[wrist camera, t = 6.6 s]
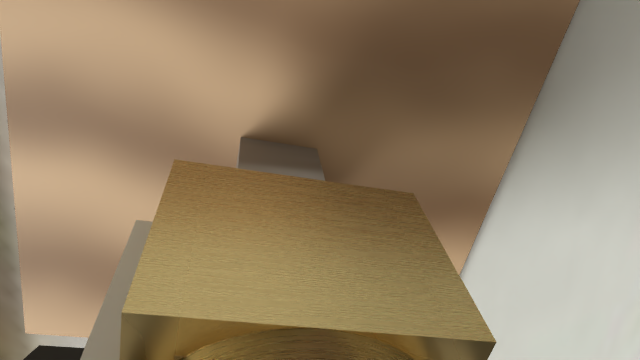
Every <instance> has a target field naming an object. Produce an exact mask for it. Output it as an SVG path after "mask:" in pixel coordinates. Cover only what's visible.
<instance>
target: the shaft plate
mask: <svg viewBox="0 0 640 360" xmlns="http://www.w3.org/2000/svg"><path fill="white" fill-rule="evenodd" d="M579 1H580V0H0V34H1V46H2V58H3V70H4V82H5V94H6V106H7V118H8V130H9V142H10V154H11V166H12V178H13V190H14V202H15V214H16V226H17V238H18V250H19V262H20V274H21V286H22V298H23V310H24V322H25V333H28V334H43V335H58V336H73V337H88V338H89V336H90V334H91V331H92V329H93V326H94V324H95V321H96V319H97V316H98V314H99V311H100V309H101V306H102V304H103V301H104V299H105V296H106V294H107V291H108V289H109V286H110V284H111V281H112V279H113V276H114V274H115V271H116V269H117V266H118V264H119V261H120V259H121V257H122V254H123V252H124V249H125V247H126V244H127V242H128V239H129V237H130V234H131V232H132V229H133V227H134V224H135V222H136V220H142V221H150V222H153V220H154V217H155V214H156V211H157V208H158V205H159V203H160V200H161V197H162V194H163V191H164V188H165V185H166V182H167V179H168V177H169V174H170V171H171V168H172V165H173V162H174V159H176V160H183V161H190V162H197V163H204V164H211V165H218V166H225V167H232V168H239V169H246V170H253V171H260V172H267V173H274V174H281V175H288V176H295V177H302V178H309V179H316V180H323V181H330V182H337V183H345V184H352V185H359V186H366V187H373V188H380V189H387V190H394V191H401V192H408V193H414V195H415V197H416V199H417V201H418V202H419V204H420V206H421V208H422V209H423V211H424V213H425V215H426V217H427V218H428V220H429V222H430V224H431V226H432V227H433V229H434V231H435V233H436V235H437V236H438V238H439V240H440V242H441V244H442V245H443V247H444V249H445V251H446V253H447V254H448V256H449V258H450V260H451V262H452V263H453V265H454V267H455V269H456V271H457V272H458V274H459V275H460V272H461V270H462V268H463V266H464V263H465V261H466V259H467V256H468V254H469V252H470V250H471V247H472V245H473V243H474V240H475V238H476V236H477V234H478V231H479V229H480V227H481V224H482V222H483V220H484V218H485V215H486V213H487V211H488V209H489V206H490V204H491V202H492V199H493V197H494V195H495V193H496V190H497V188H498V186H499V183H500V181H501V179H502V177H503V174H504V172H505V170H506V168H507V165H508V163H509V161H510V158H511V156H512V154H513V152H514V149H515V147H516V145H517V142H518V140H519V138H520V136H521V133H522V131H523V129H524V126H525V124H526V122H527V120H528V117H529V115H530V113H531V111H532V108H533V106H534V104H535V101H536V99H537V97H538V95H539V92H540V90H541V88H542V85H543V83H544V81H545V79H546V76H547V74H548V72H549V70H550V67H551V65H552V63H553V60H554V58H555V56H556V54H557V51H558V49H559V47H560V44H561V42H562V40H563V38H564V35H565V33H566V31H567V28H568V26H569V24H570V22H571V19H572V17H573V15H574V13H575V10H576V8H577V6H578V3H579Z"/></svg>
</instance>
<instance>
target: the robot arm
mask: <svg viewBox="0 0 640 360" xmlns="http://www.w3.org/2000/svg"><path fill="white" fill-rule="evenodd" d="M152 223H153V222H150V221H142V220H136V222H135V224H134V227H133V229H132V232H131V234H130V237H129V239H128V242H127V244H126V247H125V249H124V252H123V254H122V257H121V259H120V261H119V264H118V266H117V269H116V271H115V274H114V276H113V279H112V281H111V284H110V286H109V289H108V291H107V294H106V296H105V299H104V301H103V304H102V306H101V309H100V311H99V314H98V316H97V319H96V321H95V324H94V326H93V329H92V331H91V334H90V336H89V338H88V341H87V343H86V346H85V348H72V347H56V346H40V345H39V346H38V347H37V348H36V349H35V350H34V351H32V352H31V353H30V354H29V355H28V356H27V357H26V358H25V359H24V360H120V336H121V312H122V309H123V307H124V304H125V301H126V298H127V295H128V292H129V289H130V286H131V283H132V281H133V278H134V275H135V272H136V269H137V266H138V263H139V260H140V257H141V255H142V252H143V249H144V246H145V243H146V240H147V237H148V234H149V231H150V229H151V226H152Z"/></svg>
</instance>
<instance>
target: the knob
mask: <svg viewBox="0 0 640 360" xmlns="http://www.w3.org/2000/svg"><path fill="white" fill-rule="evenodd" d="M495 344H496V341H495V339H494V337H493V335H492V333H491V332H490V330H489V328H488V326H487V324H486V323H485V321H484V319H483V317H482V315H481V314H480V312H479V310H478V308H477V306H476V305H475V303H474V301H473V299H472V297H471V296H470V294H469V292H468V290H467V288H466V287H465V285H464V283H463V281H462V280H461V278H460V276H459V274H458V272H457V271H456V269H455V267H454V265H453V263H452V262H451V260H450V258H449V256H448V254H447V253H446V251H445V249H444V247H443V245H442V244H441V242H440V240H439V238H438V236H437V235H436V233H435V231H434V229H433V227H432V226H431V224H430V222H429V220H428V218H427V217H426V215H425V213H424V211H423V209H422V208H421V206H420V204H419V202H418V201H417V199H416V197H415V195H414V193H408V192H401V191H394V190H387V189H380V188H373V187H366V186H359V185H352V184H345V183H337V182H330V181H323V180H316V179H309V178H302V177H295V176H288V175H281V174H274V173H267V172H260V171H253V170H246V169H239V168H232V167H225V166H218V165H211V164H204V163H197V162H190V161H183V160H176V159H174V162H173V165H172V168H171V171H170V174H169V177H168V179H167V182H166V185H165V188H164V191H163V194H162V197H161V200H160V203H159V205H158V208H157V211H156V214H155V217H154V220H153V223H152V226H151V229H150V231H149V234H148V237H147V240H146V243H145V246H144V249H143V252H142V255H141V257H140V260H139V263H138V266H137V269H136V272H135V275H134V278H133V281H132V283H131V286H130V289H129V292H128V295H127V298H126V301H125V304H124V307H123V309H122V312H121V336H120V360H487V359H488V357H489V355H490V353H491V352H492V350H493V348H494V346H495Z"/></svg>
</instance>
